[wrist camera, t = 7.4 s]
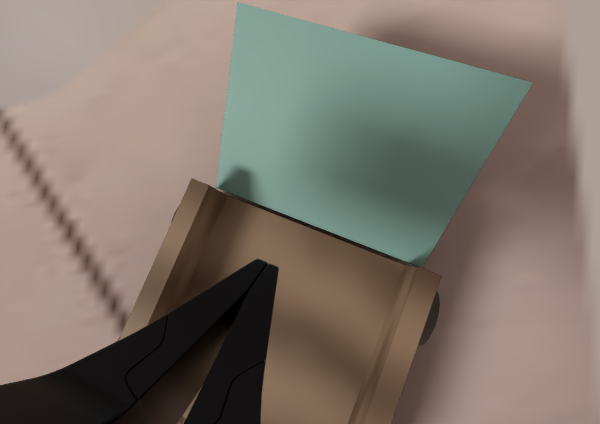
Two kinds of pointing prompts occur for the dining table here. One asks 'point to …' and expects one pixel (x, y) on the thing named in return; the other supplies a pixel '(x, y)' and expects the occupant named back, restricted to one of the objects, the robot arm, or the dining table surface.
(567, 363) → the dining table surface
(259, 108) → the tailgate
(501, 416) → the dining table surface
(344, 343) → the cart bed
